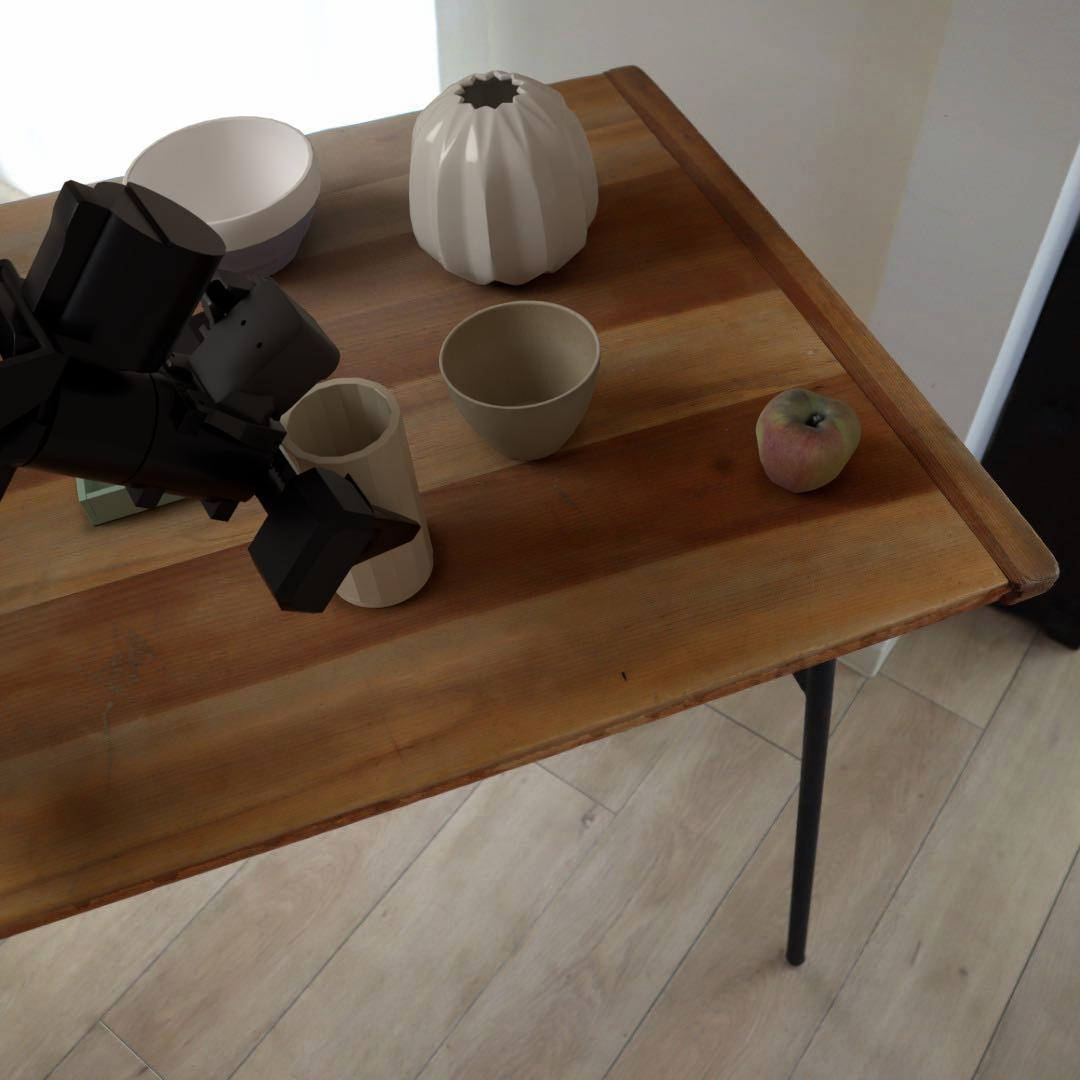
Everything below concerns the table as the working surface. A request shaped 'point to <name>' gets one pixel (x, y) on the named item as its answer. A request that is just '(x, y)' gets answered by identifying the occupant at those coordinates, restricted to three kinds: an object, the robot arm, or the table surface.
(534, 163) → the vase
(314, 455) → the rice cup
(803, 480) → the apple
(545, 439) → the flower pot
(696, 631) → the table surface
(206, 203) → the bowl
